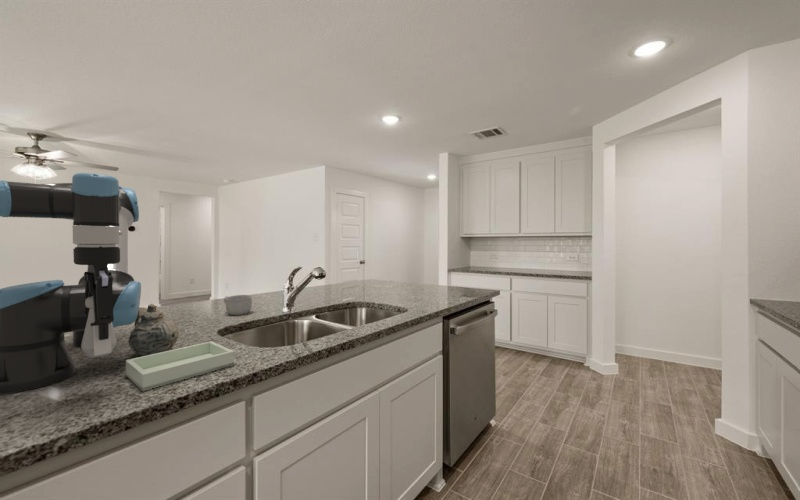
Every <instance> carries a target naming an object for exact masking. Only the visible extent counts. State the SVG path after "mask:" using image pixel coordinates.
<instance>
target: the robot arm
mask: <svg viewBox="0 0 800 500" xmlns="http://www.w3.org/2000/svg"><path fill="white" fill-rule="evenodd" d="M71 181H72V182H63V183H62V182H61V183H60V182H58V183H30V182H20V181H19V182H17V181H7V180H0V218H34V219H35V218H37V219H38V218H39V219H61V220H62V219H63V220H69V221H70V220H71V221H73V222H72V244H74V245H76V246H75V247H74V248H72V249H73V253H72V254H73V263H74V264H75V265H79V266H87V271H84V273H83V275H82V276H81V278H79V280H78V284H71V285H69V284H68V285H65V283H64V281H63V280H62V279H55V280H54V279H53V280H43V281H35V282H29V283H22V284H16V285H11V286H6V287H1V288H0V395H4V394H5V395H6V394H13V393H19V392H23V391H29V390H33V389H38V388H42V387H45V386H49V385H52V384H56V383H58V382H60V381H63V380H65V379H68V378H69V377H71V376H73V375H74V374H75V372H76V369H75V368H76V363H75V361H74V359H73V357H72V355H71V352H70V351H69V349H68V347H67V345H66V342H65V341H66V340H65V334H66V333H73V332H74V331H82V330H85V327H86V323H87V319H88V315H89V310H90V308H87V307H86V306H85V301H86V299H87V298H88V297H91V296H93V303H94V316H95V322H94V323H91V324H90V325H91V326H93V329H94V356H97V355H101V354H106V353H110V354H112V353H111V322H112V324H113V328H114V329H115V328H118V327H122V326H127V325H128V326H129V325H131V324H133V323H135V320H136V319H137V316H138V311H139V308H140V302H141V295H142V283H141V282H139V281H136V280H135V279H134V277H133V275H132V274H130V273H128V271H129V268H128V267H129V266H128V265H129V264H128V262H129V260H128V258H129V252H128V250H129V249H128V247H129V246H128V245H129V243H128V241H129V240H128V239H129V237H128V236H129V235H128V233H129V232H128V229H129V228H130V227H131V226H132V225H133V223H135V222H138V221H139V219H140V211H139V204H138V198H137V193H136V192H135V190H134V189H133V188H130V187H124V186H120V183H119V180H118V179H117V178H116V177H114V176H111V175H107V174H99V173H92V172H91V173H90V172H78V173H74V174H73V176H72V180H71Z"/></svg>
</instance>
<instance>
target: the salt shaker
mask: <svg viewBox="0 0 800 500" xmlns="http://www.w3.org/2000/svg"><path fill="white" fill-rule="evenodd" d="M85 306H86V307H87V308H90V310H89V315H88V319H87V323H86V327H85V331H84V336H83V340H82V344H81V346H80V347H81V349H82V351H83V354H85V356H86V357H87V358H99V357H104V356H108V355H109V354H112V353H113V352H114V350H115V347H116V345H117V342H118V340H117V336H116V332H115V327H114V328H113V324H112V322H111V353H106V354H101V355H97V356H94V329H93V326H91V325H90V324H91V323H94V322H95V316H94V303H93V296H91V297H88V298H87V299H86V301H85Z"/></svg>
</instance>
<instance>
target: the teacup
mask: <svg viewBox="0 0 800 500" xmlns="http://www.w3.org/2000/svg"><path fill="white" fill-rule="evenodd" d="M252 297H253V296H252V295H250V294H235V295H231V296H229V295H227V296H225V297H224V298H223V303H224V305H225V308H226V309H225V310H226V312H227V313H228V314H230V315H231V316H235V317H237V316H243V315H246V314H248V313H249V312H250V311H251V309H252V302H253V301H252Z"/></svg>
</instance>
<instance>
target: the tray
mask: <svg viewBox="0 0 800 500" xmlns="http://www.w3.org/2000/svg"><path fill="white" fill-rule="evenodd" d="M233 366H235V351H234V350H233V349H230V348H228V347H225V346H223V345H220V344H218V343H217V342H214V341H212V340H211V341H206V342H202V343H197V344H192V345H188V346H184V347H180V348H174V349H170V350H169V351H165V352H160V353H156V354H151V355H147V356H140V357H139V356H138V357H134V358H129V359H126V360H125V377H127V378H128V379H129V380H130V381H132V383H133V384H135V386H137V388H138V389H140V391H142V392H146V390H147V391H150V390H153V389H152V388H154V389H157V388H160V387H159V386H161V387H164V386H167V385H166V384H168V385H171V384H174V383H173V382H175V383H177V381H178V382H182V381H184V379H185V380H189V379H191V377H192V378H195V377H199V376H201V375H206V374H209V373H212V371H213V372H216V371H219V370H222V368H223V369H225V368H226V369H227V368H229V367H230V368H231V367H233ZM215 370H216V371H215ZM205 373H206V374H205ZM198 375H199V376H198ZM194 376H195V377H194ZM170 383H171V384H170ZM163 385H164V386H163ZM156 387H157V388H156ZM149 389H150V390H149Z"/></svg>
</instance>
